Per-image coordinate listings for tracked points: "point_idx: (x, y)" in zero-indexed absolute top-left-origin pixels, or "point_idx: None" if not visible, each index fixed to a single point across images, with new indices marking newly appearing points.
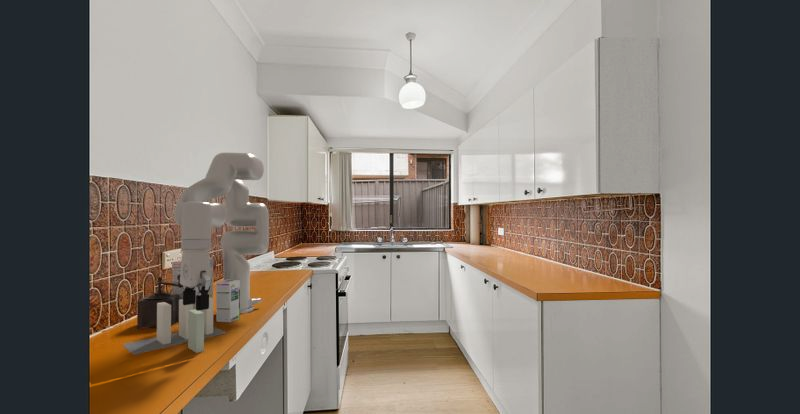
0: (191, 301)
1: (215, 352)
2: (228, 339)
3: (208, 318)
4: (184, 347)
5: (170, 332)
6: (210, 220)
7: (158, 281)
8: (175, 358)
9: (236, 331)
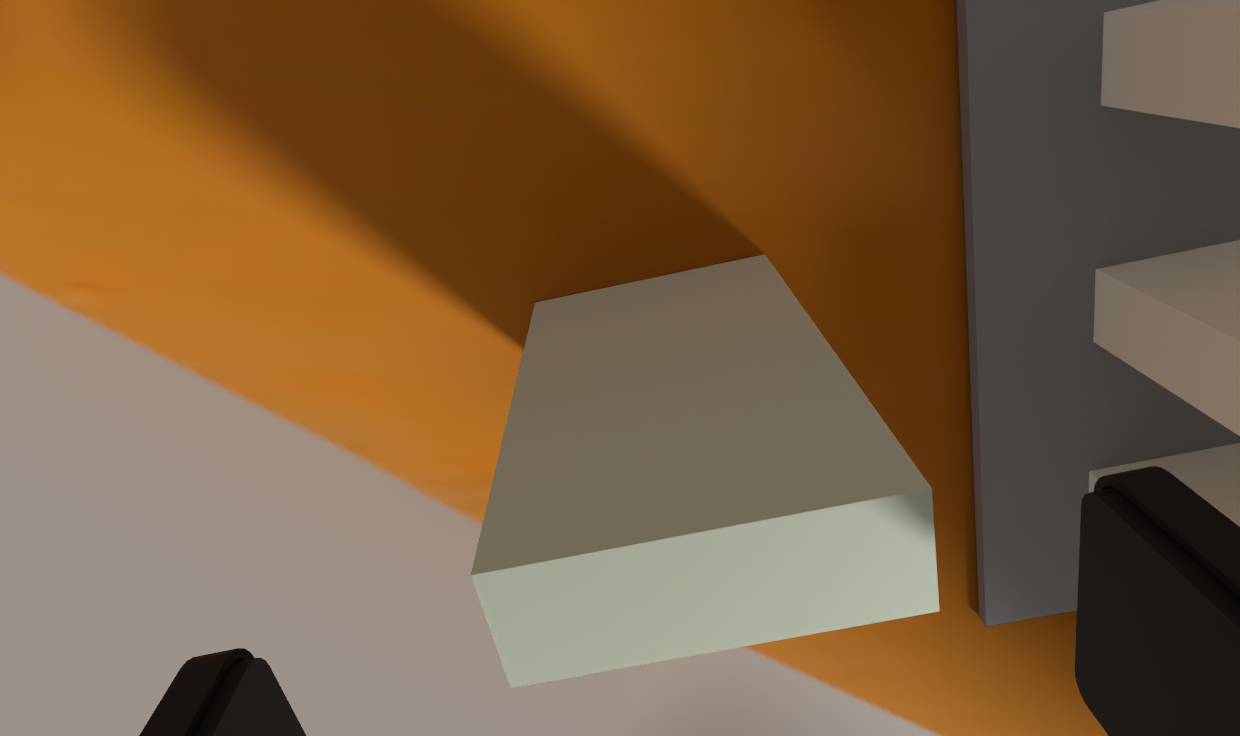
0: (1110, 671)
1: None
2: None
3: None
4: (861, 228)
5: (1190, 113)
6: None
7: None
8: (535, 103)
9: (1013, 693)
